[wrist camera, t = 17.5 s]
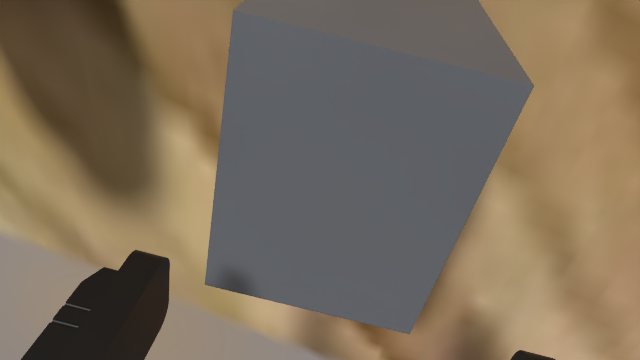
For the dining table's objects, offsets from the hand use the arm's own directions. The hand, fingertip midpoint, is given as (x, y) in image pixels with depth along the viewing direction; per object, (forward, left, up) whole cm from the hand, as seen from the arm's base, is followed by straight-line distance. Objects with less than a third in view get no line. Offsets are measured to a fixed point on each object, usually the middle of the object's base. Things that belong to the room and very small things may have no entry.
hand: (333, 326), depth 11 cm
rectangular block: (+1, -1, -12) cm, 12 cm away
